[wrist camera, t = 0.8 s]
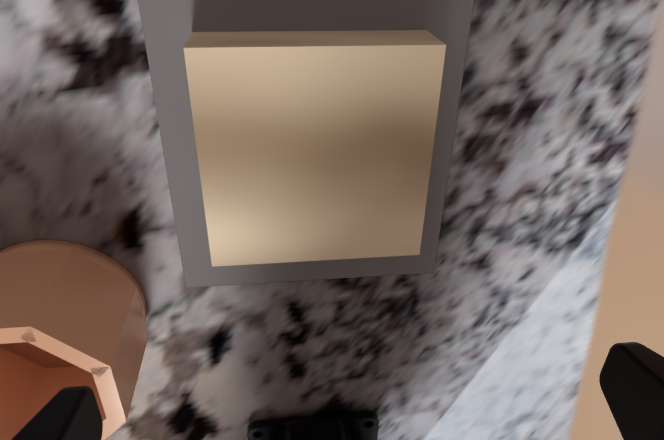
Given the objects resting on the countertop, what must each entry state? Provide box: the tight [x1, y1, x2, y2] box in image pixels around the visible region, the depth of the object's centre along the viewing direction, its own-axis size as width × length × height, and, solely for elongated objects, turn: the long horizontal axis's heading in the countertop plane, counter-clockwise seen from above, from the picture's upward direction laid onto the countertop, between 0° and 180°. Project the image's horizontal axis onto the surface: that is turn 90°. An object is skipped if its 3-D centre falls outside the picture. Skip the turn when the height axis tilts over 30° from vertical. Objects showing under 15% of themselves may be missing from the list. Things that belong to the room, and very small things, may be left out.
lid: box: [184, 30, 446, 267], centre depth 17 cm, size 7×7×2 cm
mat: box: [138, 0, 474, 288], centre depth 18 cm, size 12×10×1 cm
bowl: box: [0, 240, 148, 440], centre depth 19 cm, size 6×6×5 cm
